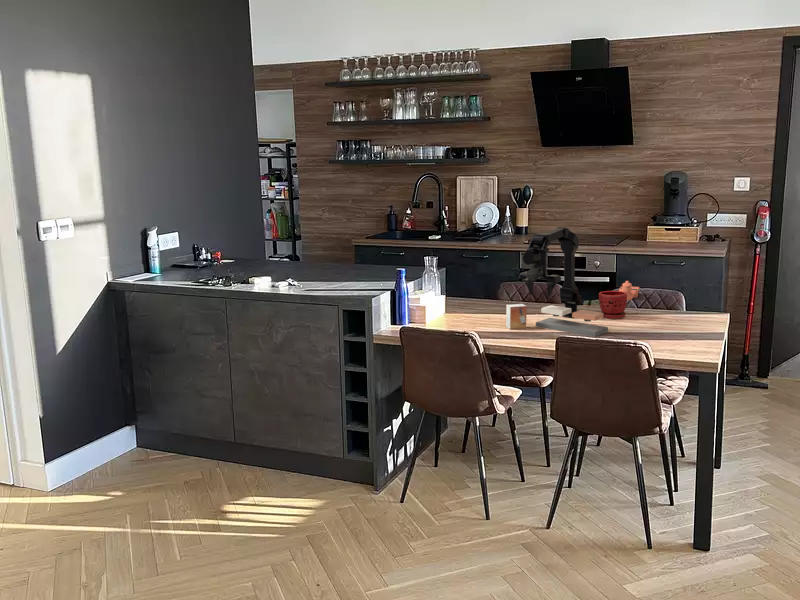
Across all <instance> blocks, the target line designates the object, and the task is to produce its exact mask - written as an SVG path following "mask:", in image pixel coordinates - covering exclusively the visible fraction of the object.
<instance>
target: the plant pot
mask: <svg viewBox="0 0 800 600" xmlns="http://www.w3.org/2000/svg"><path fill="white" fill-rule="evenodd" d="M627 303H628V300H627V293H626V292H622V291H619V290H606V291H600V292H599V293H598V305H599V307H600V308H599V309H600V311H601V312H600V313H604V314H603V318H605V319H608V320H609V319H610V320H611V319H613V320H619V319H623V318H624V317H625V316H626V315H627V314H626V312H625V310H626V308H627Z"/></svg>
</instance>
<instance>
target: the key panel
mask: <svg viewBox="0 0 800 600" xmlns="http://www.w3.org/2000/svg"><path fill="white" fill-rule="evenodd" d="M535 327H537V328H542V329H547V330H554V331H559V332H566V333H570V332H572V334H576V333H577V335H582V334H583V335H584V336H588V337H589V336H590V337H594V336H595V337H598V336H600V335H603V334H605V333H608V332H609V326H604V325H597V324H591V323H585V322H579V321H571V320H565V319H559V318H556V317H555V318H553V317H548V318H545V319H541V320H539V321H535Z"/></svg>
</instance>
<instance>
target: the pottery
mask: <svg viewBox="0 0 800 600" xmlns="http://www.w3.org/2000/svg"><path fill="white" fill-rule="evenodd" d="M632 289H637V290H632ZM618 291H622V292H626V293H627V301H632V300H633V298H638V297H639V295H638V291H639V292H640V286H633V284H632V283H631V282H630V281H629V280H625V282H623V283H622V284H621V286H620V287H619V289H618Z"/></svg>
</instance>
